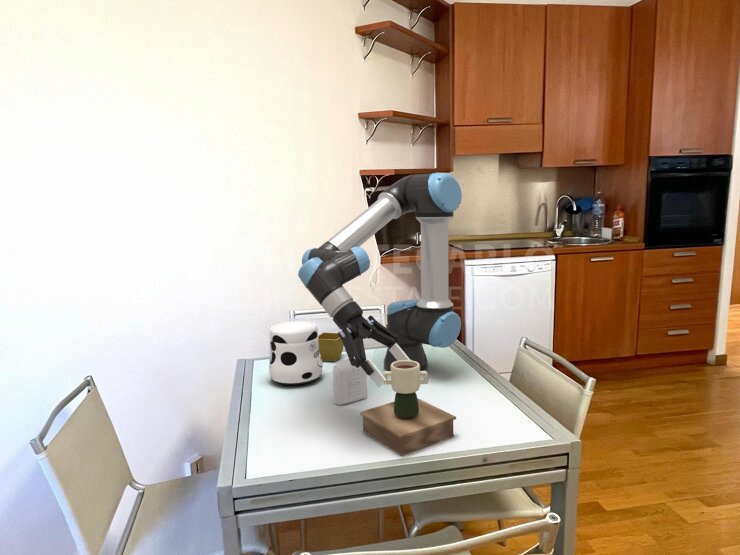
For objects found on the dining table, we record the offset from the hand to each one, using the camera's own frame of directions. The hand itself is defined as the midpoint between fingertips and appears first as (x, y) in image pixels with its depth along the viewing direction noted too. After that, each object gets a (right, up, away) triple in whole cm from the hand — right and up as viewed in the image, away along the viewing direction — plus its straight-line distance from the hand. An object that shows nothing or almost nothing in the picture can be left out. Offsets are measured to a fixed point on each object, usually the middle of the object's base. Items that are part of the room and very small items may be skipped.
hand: (396, 374), depth 128 cm
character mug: (+3, -10, +1) cm, 11 cm away
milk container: (-30, -10, +43) cm, 54 cm away
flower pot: (-21, -6, +62) cm, 66 cm away
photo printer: (-12, -12, +24) cm, 30 cm away
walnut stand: (+3, -15, +2) cm, 15 cm away
